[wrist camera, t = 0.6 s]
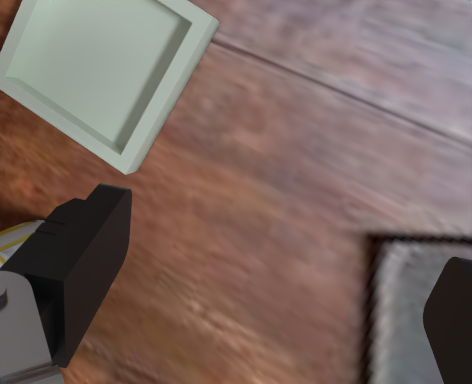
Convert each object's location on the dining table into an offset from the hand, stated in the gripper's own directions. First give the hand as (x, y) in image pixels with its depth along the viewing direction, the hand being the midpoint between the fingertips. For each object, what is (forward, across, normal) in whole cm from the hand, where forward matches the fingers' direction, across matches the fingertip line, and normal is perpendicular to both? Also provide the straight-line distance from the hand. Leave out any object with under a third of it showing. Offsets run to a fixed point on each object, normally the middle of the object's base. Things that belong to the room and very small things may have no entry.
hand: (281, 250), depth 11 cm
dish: (+23, +13, +2) cm, 26 cm away
